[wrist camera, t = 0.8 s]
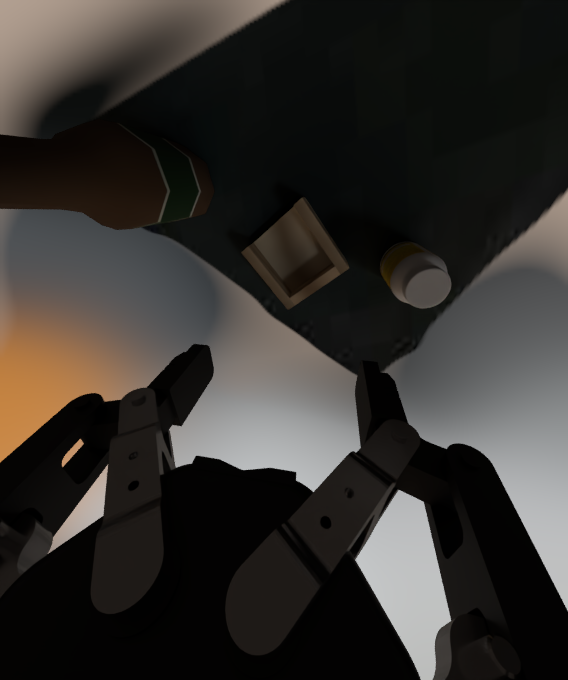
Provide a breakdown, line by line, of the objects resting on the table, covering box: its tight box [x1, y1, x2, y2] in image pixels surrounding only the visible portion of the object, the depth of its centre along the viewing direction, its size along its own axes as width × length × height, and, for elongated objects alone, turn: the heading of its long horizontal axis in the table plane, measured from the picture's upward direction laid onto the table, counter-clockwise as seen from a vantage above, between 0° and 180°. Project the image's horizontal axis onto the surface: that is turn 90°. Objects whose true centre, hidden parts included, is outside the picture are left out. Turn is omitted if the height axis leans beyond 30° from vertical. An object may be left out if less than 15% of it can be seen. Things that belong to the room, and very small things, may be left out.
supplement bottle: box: [380, 242, 451, 308], centre depth 27 cm, size 5×5×10 cm
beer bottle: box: [0, 119, 215, 230], centre depth 20 cm, size 8×8×24 cm
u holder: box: [241, 197, 349, 310], centre depth 31 cm, size 9×9×4 cm
